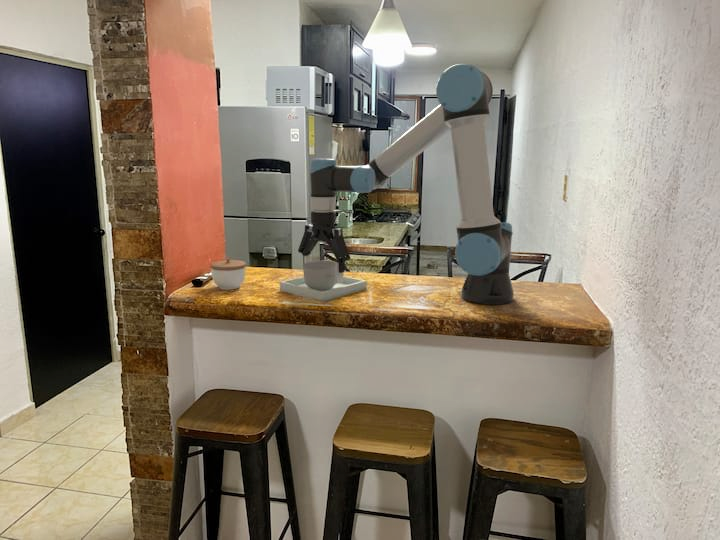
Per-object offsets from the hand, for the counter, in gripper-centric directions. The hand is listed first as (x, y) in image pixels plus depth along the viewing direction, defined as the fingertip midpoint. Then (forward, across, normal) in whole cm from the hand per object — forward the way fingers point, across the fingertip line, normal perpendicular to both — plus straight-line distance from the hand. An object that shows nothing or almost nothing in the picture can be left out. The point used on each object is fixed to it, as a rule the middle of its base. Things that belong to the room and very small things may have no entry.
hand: (323, 279), depth 166 cm
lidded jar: (+4, +24, +18) cm, 30 cm away
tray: (+3, 0, 0) cm, 3 cm away
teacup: (+3, 0, 0) cm, 3 cm away
